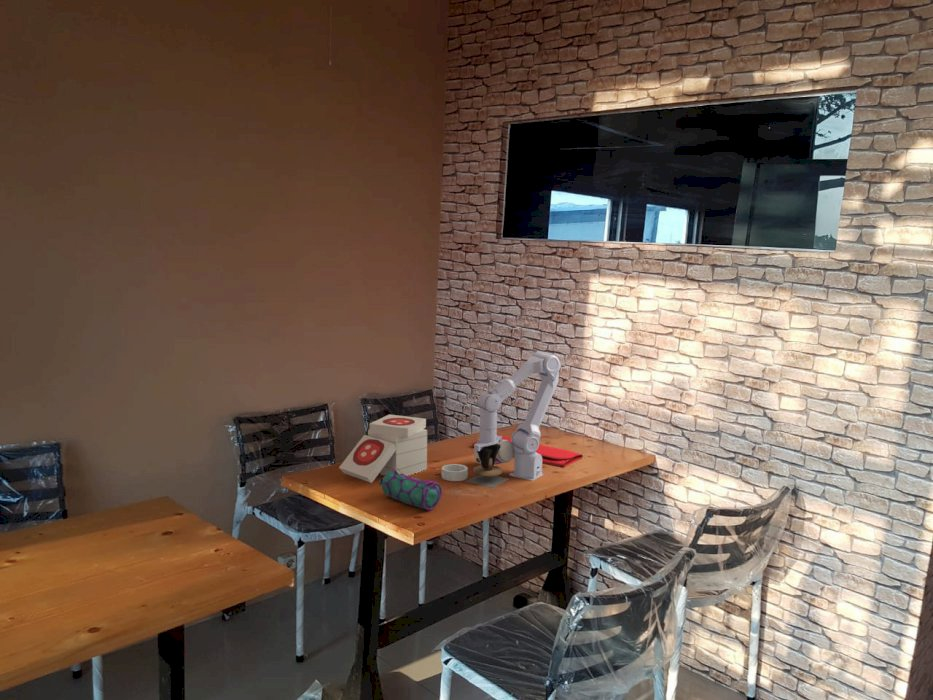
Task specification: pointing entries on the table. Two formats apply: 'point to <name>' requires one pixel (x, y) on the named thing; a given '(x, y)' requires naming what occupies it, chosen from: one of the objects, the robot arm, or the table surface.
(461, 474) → the bowl
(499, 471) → the lid
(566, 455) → the dish drying mat
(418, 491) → the pencil case
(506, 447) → the supplement can
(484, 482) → the mat
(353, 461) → the pizza boxes
